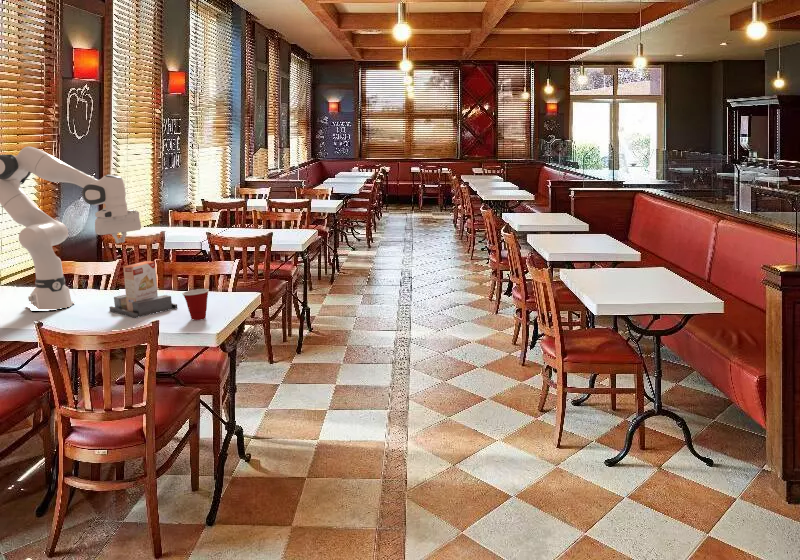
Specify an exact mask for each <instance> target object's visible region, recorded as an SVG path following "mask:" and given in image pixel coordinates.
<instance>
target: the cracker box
mask: <svg viewBox="0 0 800 560" xmlns="http://www.w3.org/2000/svg"><path fill="white" fill-rule="evenodd" d="M122 269H123V278H124V289H125V290H124V291H125V295H126V301H127V311H131V312H133V304H132V302H135V301H139V300H144V299H149V298H153V297H158V296H159V295H158V286H157V285H158V284H157V273H156V272H157V271H156V263H155V261H150V260H149V261H148V260H147V261H145V260H144V261H141V262H138V263H133V264H128V265H124V266H122Z"/></svg>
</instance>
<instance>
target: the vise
mask: <svg viewBox="0 0 800 560" xmlns="http://www.w3.org/2000/svg"><path fill="white" fill-rule="evenodd" d="M132 304H133V312H131V311H127V310H123V309H120V308H116V307H115V306H112V305H111V306H109V307H108V308H109V312H112V313H115V314H118V315H122V316H126V317H130V318H134V319H138V318H140V317H141V318H142V317H145V316H148V315H149V314H150V315H153V313H154V314H157V313H156V312H159V313H161V312H160V311H163V312H166V311H165V310H167V311H169V310H168V309H172V310H173V308H177V309H178V304H177V303H173V302H172V296H171V295H168V294H164V295H158V297H153V298H149V299H144V300H139V301H135V302H132ZM150 315H149V316H150Z"/></svg>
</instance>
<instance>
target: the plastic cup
mask: <svg viewBox="0 0 800 560" xmlns="http://www.w3.org/2000/svg"><path fill="white" fill-rule="evenodd" d="M209 292H210V289H208V288H197V289H191V290H187V291H184V292H182V296H183V297H184V300H185V303H186V305H187V309H188V312H189V317H190V318H191V320H192V319H194V320H193V321H202V320H201V319H203V320H205V319H206V317H207V307H208V295H209ZM204 318H205V319H204Z"/></svg>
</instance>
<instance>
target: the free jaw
mask: <svg viewBox="0 0 800 560" xmlns="http://www.w3.org/2000/svg"><path fill="white" fill-rule="evenodd" d="M113 301H114V303H113V304H114V307H116V308H120V309H123V310H127V301H126V294H123V295H122V294H121V295H116V296H113Z"/></svg>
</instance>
